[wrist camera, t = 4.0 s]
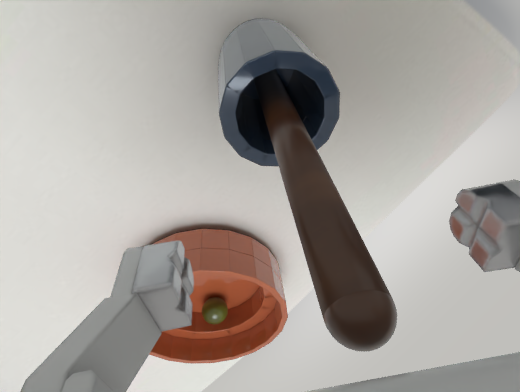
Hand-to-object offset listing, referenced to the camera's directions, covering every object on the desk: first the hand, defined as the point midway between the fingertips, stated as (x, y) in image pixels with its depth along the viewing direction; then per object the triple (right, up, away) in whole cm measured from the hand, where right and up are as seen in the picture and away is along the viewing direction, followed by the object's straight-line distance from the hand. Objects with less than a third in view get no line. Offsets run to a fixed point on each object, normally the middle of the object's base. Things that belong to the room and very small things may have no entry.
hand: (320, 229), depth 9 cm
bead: (-7, -12, +27) cm, 31 cm away
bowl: (-8, -8, +27) cm, 29 cm away
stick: (-2, +10, +13) cm, 16 cm away
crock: (-2, +10, +14) cm, 17 cm away
